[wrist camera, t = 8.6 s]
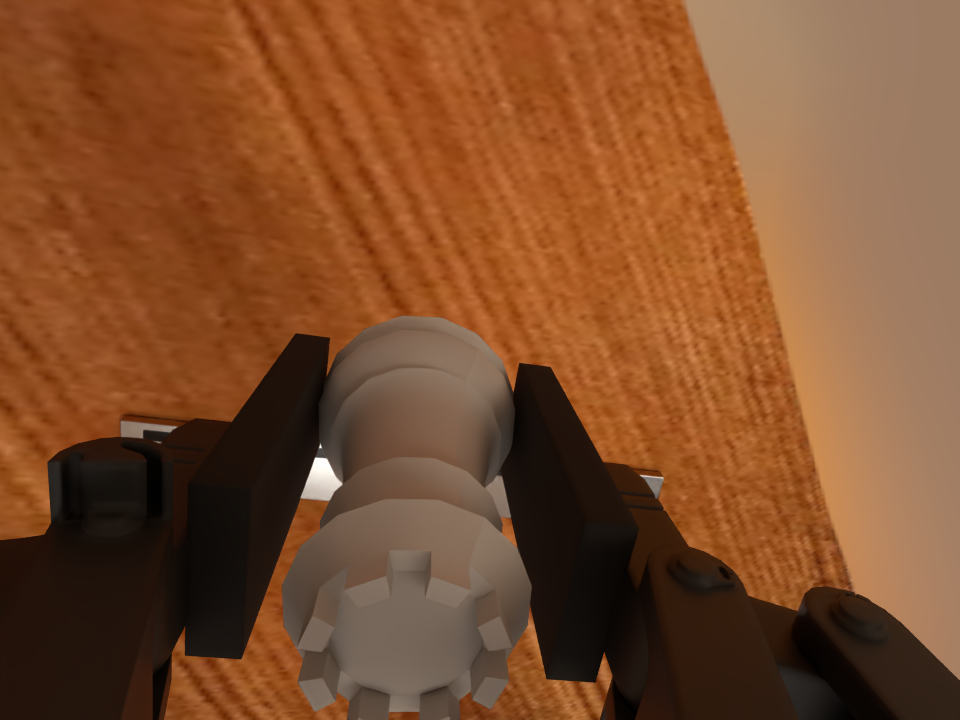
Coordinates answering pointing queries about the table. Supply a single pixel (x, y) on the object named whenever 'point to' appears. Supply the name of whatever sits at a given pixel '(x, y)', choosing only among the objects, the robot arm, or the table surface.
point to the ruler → (321, 472)
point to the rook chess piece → (410, 529)
